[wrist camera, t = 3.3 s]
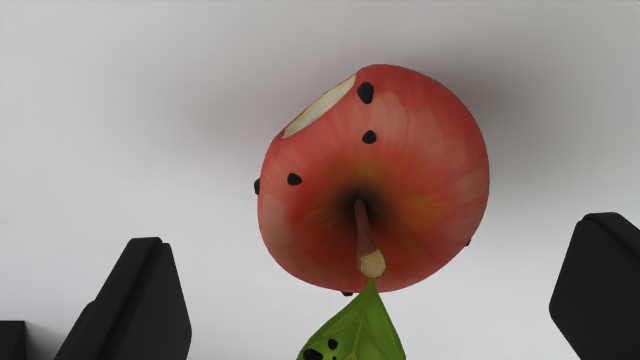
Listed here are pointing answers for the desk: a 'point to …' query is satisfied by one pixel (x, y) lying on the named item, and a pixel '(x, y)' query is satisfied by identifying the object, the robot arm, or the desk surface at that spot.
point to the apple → (372, 199)
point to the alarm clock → (12, 340)
